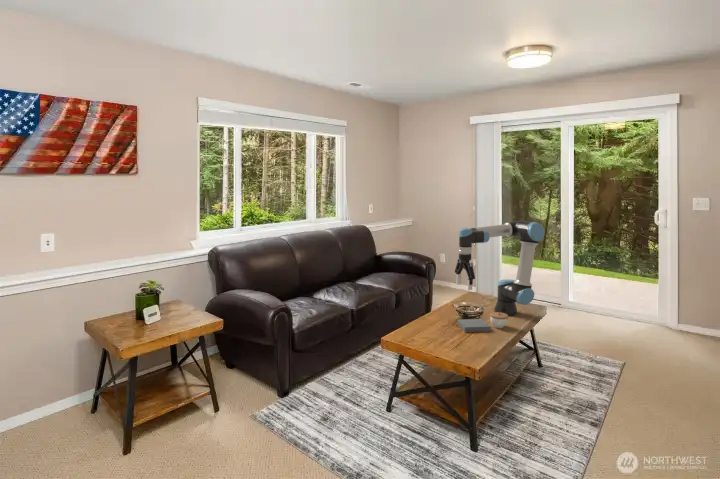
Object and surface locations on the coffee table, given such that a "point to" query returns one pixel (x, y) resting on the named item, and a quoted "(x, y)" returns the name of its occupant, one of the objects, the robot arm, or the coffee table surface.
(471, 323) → the block
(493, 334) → the coffee table surface
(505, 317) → the lidded jar
